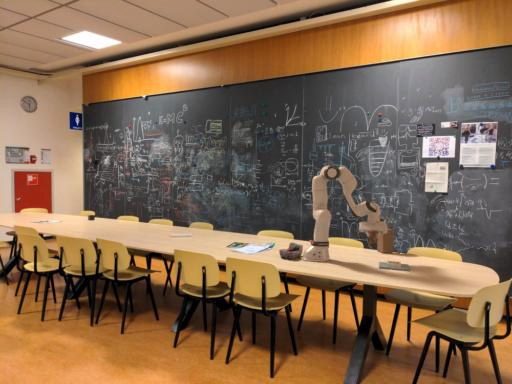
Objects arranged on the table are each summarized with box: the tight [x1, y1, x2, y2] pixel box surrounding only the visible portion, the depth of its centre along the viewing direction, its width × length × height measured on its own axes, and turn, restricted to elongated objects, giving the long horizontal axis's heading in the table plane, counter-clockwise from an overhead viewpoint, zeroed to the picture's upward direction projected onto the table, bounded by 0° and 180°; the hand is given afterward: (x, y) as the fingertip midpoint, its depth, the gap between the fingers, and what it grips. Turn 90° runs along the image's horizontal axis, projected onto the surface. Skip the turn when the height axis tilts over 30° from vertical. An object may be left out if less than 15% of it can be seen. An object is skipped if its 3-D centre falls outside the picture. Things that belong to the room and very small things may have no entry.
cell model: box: [278, 241, 304, 260], centre depth 293 cm, size 13×11×20 cm
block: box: [376, 227, 395, 254], centre depth 321 cm, size 10×10×20 cm
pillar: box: [368, 231, 378, 245], centre depth 279 cm, size 5×5×9 cm
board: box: [378, 260, 411, 272], centre depth 268 cm, size 20×16×3 cm
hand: (372, 236), depth 278 cm, fingers closed on pillar, 5 cm apart
